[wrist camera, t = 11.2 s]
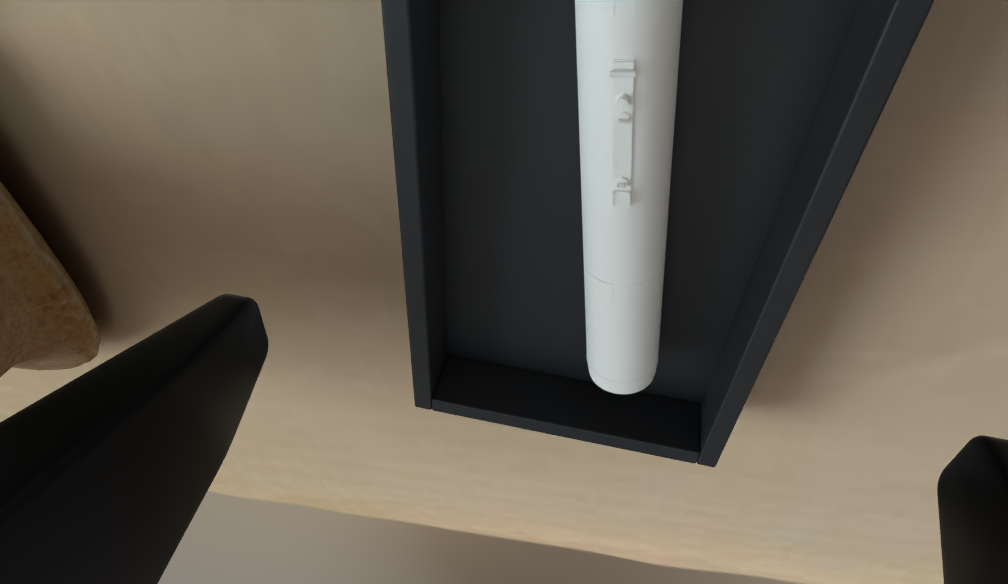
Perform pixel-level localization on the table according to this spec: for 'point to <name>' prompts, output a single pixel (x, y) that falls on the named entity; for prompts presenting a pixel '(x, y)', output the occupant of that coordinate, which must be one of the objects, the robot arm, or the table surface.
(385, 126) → the table surface
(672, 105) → the white model rocket
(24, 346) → the stone cup
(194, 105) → the table surface
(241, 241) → the table surface
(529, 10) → the pen tray
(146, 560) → the robot arm
